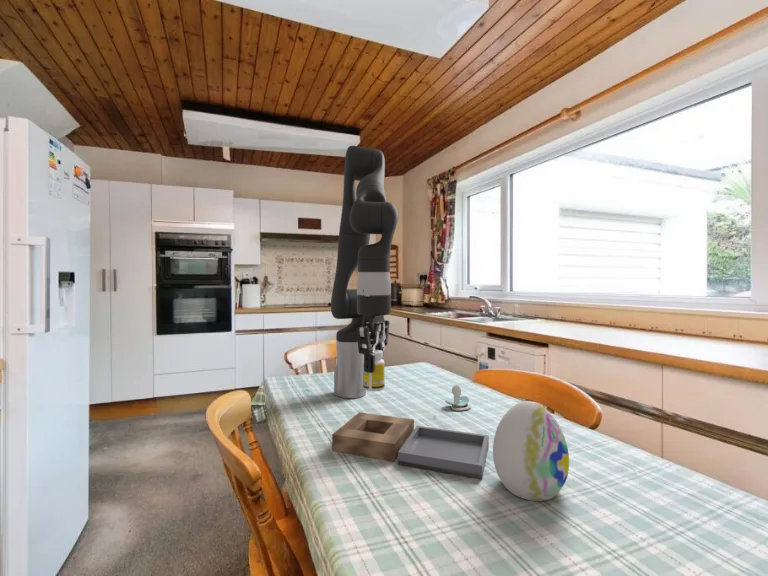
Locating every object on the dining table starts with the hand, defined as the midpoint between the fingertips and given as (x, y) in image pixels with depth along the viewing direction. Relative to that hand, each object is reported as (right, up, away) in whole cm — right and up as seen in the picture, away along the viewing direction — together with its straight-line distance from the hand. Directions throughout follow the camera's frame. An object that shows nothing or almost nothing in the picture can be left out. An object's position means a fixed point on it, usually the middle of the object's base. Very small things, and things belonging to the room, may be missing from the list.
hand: (373, 368), depth 83 cm
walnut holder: (0, -16, 0) cm, 16 cm away
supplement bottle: (0, -5, 0) cm, 5 cm away
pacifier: (+24, -16, +23) cm, 36 cm away
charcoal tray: (+15, -16, -6) cm, 23 cm away
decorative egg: (+28, -17, -18) cm, 37 cm away
